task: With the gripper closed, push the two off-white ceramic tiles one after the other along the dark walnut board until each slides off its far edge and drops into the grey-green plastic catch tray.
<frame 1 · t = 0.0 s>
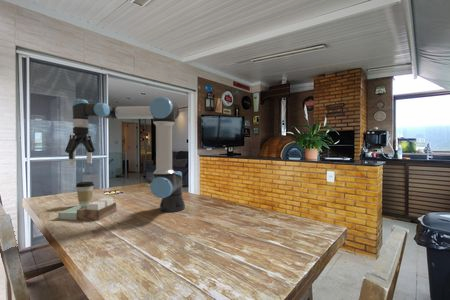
hand: (81, 164, 131), 28 cm above the table, fingers open, 13 cm apart
coffee cup: (85, 206, 145), on the table
catch tray: (79, 214, 128), on the table
tile a: (105, 204, 130), point 5 cm above the table, touching board
tile b: (96, 208, 122), point 5 cm above the table, touching board
board: (97, 215, 127), on the table
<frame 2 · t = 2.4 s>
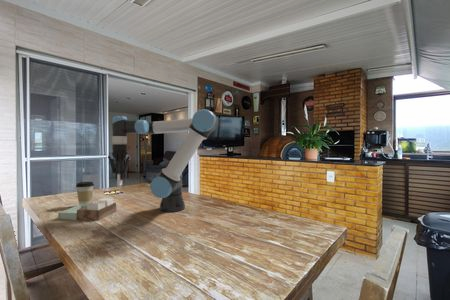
hand: (119, 185, 129), 16 cm above the table, fingers closed
nothing on the table moved.
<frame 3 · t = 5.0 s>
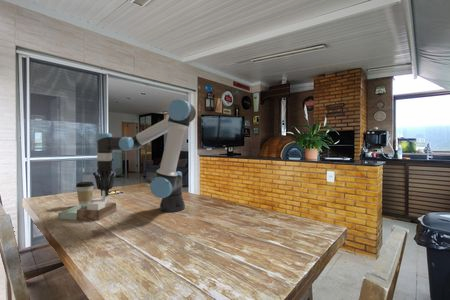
hand: (104, 201, 130), 7 cm above the table, fingers closed
tile a: (98, 204, 131), point 5 cm above the table, touching gripper
everything else where it was.
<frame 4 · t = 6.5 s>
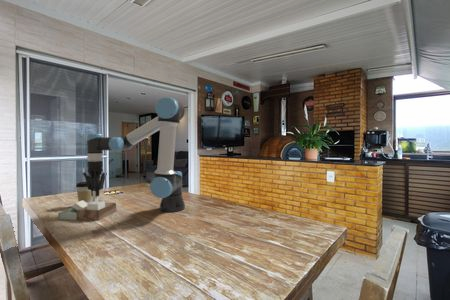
hand: (95, 201, 131), 6 cm above the table, fingers closed
tile a: (83, 204, 132), point 5 cm above the table, tilted 148°, touching catch tray
everything else where it was.
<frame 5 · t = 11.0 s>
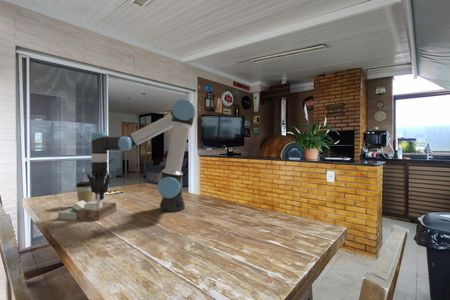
hand: (99, 205, 122), 7 cm above the table, fingers closed
tile b: (93, 208, 123), point 5 cm above the table, touching gripper
everything else where it was.
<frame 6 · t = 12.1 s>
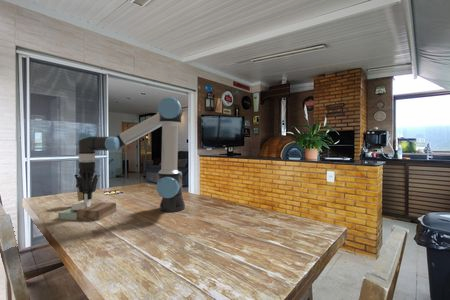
hand: (87, 205, 123), 7 cm above the table, fingers closed
tile b: (81, 208, 123), point 5 cm above the table, tilted 7°, touching board, gripper
everything else where it was.
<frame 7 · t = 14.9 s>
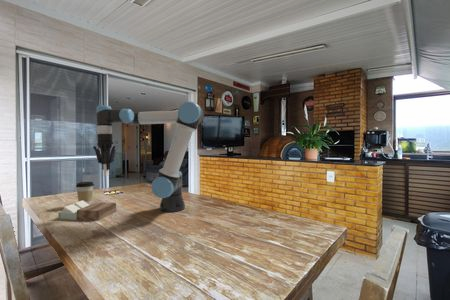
hand: (106, 175, 128), 22 cm above the table, fingers closed
tile b: (73, 208, 124), point 5 cm above the table, tilted 150°, touching catch tray
everything else where it was.
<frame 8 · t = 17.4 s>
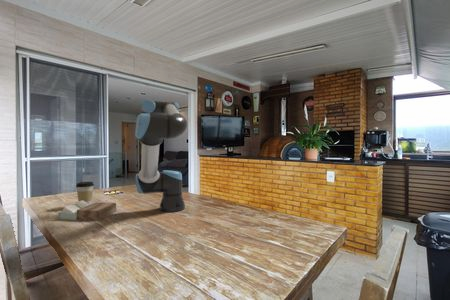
hand: (147, 159, 151), 29 cm above the table, fingers closed
nothing on the table moved.
at the end: tile a inside the target area (4.0 cm from its centre), point 4.7 cm above the table; tile b inside the target area (3.9 cm from its centre), point 4.7 cm above the table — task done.
